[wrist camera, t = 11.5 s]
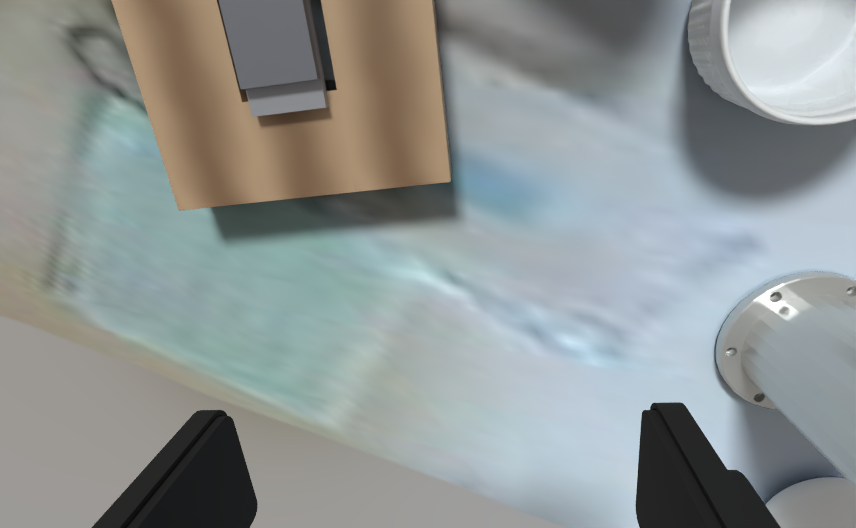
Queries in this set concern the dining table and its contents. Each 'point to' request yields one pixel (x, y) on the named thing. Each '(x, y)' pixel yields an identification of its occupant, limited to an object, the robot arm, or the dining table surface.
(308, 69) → the flanged block
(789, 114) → the ramekin
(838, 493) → the flower in vase
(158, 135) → the wooden board
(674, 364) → the dining table surface
